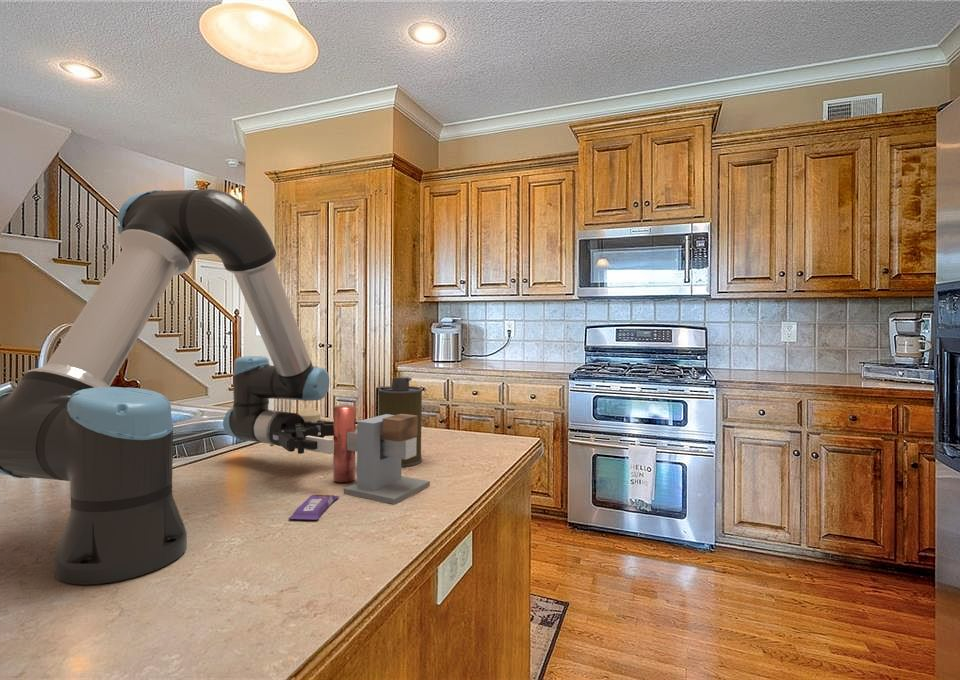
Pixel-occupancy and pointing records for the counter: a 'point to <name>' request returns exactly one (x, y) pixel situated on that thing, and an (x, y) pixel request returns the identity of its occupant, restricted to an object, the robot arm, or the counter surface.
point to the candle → (310, 415)
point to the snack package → (313, 507)
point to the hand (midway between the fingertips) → (355, 439)
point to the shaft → (348, 444)
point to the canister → (402, 407)
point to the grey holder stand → (379, 468)
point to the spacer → (399, 427)
